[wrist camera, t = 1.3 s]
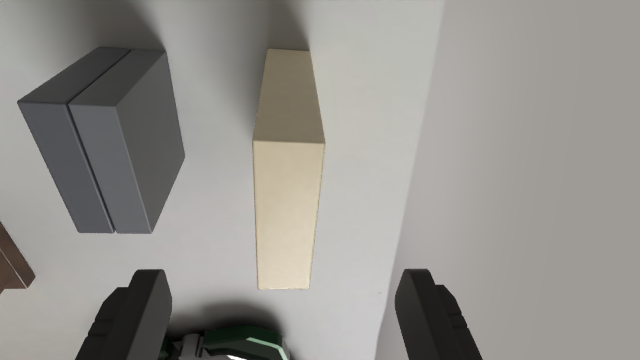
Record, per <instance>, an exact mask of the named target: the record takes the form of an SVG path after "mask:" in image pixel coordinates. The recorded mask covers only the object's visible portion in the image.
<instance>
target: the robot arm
mask: <svg viewBox="0 0 640 360" xmlns="http://www.w3.org/2000/svg"><path fill="white" fill-rule="evenodd" d="M395 310H396V314H397V318H398V321H399V325H400V329H401V332H402V336H403V339H404V343H405V347H406V350H407V354H408V357H409V360H483V359H482V357H481V355H480V353H479V351H478V348H477V346H476V344H475V341H474V339H473V337H472V335H471V333H470V331H469V329H468V328H467V324H466V321H465V319H464V317H463V316H462V314H461V310H460V308H459V306H458V304H457V301H456V299H455V297H454V296H453V295H452V294H451V293H450V292H449V291H448V290H447V288H446V287H445V286H444V285H435V283H434V280H433V278H432V276H431V273H430V272H429V270H427V269H405V270H404V272H403V275H402V277H401V280H400V283H399V286H398V289H397V291H396V295H395ZM171 311H172V296H171V292H170V289H169V285H168V282H167V278H166V275H165V272H164V270H162V269H144V270H137V271H136V272H135V273H134V275H133V277H132V280H131V282H130V284H129V286H128V287H117V288H116V289H115V290H114V292H113V293H112V294H111V295H110V296H109V297H108V298H107V299H106V300H105V301H104V302H103V304H102V306H101V308H100V310H99V312H98V314H97V316H96V318H95V322H94V323H93V324H92V326H91V328H90V330H89V332H88V336H87V337H86V338H85V340H84V342H83V344H82V346H81V348H80V350H79V352H78V354H77V357H76V359H75V360H157V359H158V356H159V352H160V349H161V346H162V342H163V339H164V336H165V332H166V329H167V326H168V322H169V319H170V316H171Z"/></svg>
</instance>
